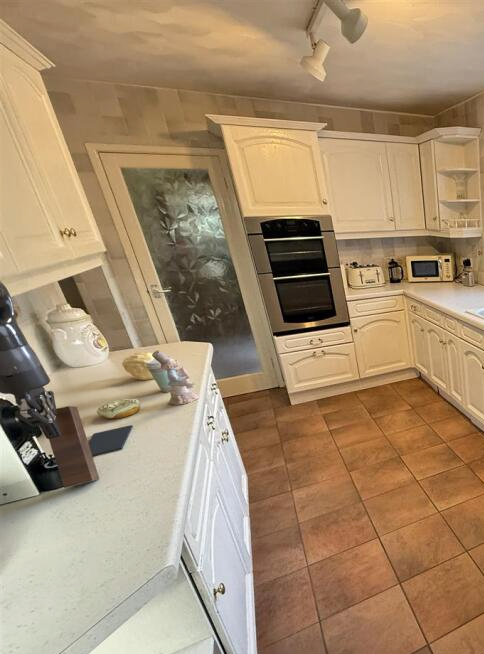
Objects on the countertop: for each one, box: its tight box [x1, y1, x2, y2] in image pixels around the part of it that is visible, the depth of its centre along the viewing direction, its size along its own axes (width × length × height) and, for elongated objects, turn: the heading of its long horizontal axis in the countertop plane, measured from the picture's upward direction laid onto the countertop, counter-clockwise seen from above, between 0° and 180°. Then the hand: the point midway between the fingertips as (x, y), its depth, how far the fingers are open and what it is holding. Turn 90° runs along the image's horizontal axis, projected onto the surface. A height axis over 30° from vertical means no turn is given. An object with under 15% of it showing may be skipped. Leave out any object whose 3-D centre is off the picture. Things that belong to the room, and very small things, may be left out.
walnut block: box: [48, 405, 100, 489], centre depth 96 cm, size 4×5×19 cm
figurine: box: [152, 350, 199, 406], centre depth 137 cm, size 9×8×20 cm
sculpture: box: [121, 351, 155, 381], centre depth 161 cm, size 11×12×11 cm
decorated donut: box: [96, 398, 141, 420], centre depth 132 cm, size 10×11×4 cm
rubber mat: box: [88, 424, 133, 458], centre depth 116 cm, size 16×9×1 cm, turn 33°
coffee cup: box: [146, 358, 178, 393], centre depth 149 cm, size 9×8×12 cm
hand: (54, 436), depth 91 cm, fingers closed
